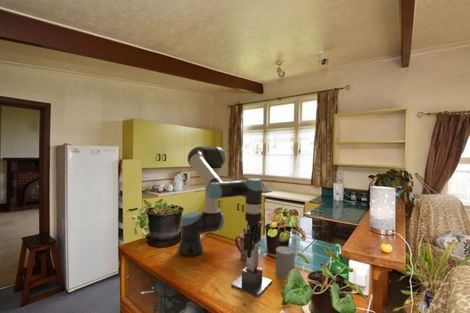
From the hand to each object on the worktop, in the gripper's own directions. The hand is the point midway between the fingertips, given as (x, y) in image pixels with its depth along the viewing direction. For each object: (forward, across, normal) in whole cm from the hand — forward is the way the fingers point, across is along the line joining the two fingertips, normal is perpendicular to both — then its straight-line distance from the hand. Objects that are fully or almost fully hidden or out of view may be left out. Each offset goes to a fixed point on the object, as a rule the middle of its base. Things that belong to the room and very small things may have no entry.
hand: (252, 261), depth 109 cm
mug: (+11, +21, +17) cm, 29 cm away
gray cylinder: (+11, +18, -9) cm, 23 cm away
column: (+6, 0, 0) cm, 6 cm away
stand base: (+11, 0, 0) cm, 11 cm away
